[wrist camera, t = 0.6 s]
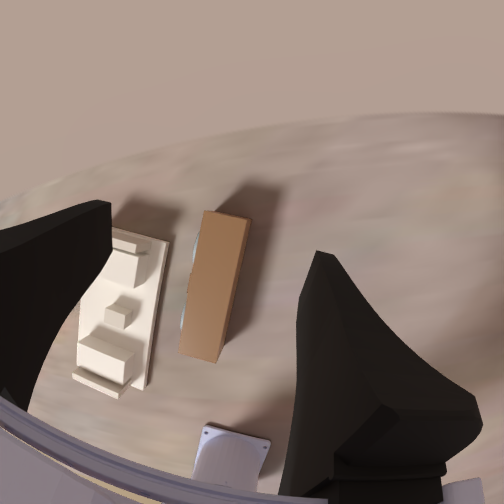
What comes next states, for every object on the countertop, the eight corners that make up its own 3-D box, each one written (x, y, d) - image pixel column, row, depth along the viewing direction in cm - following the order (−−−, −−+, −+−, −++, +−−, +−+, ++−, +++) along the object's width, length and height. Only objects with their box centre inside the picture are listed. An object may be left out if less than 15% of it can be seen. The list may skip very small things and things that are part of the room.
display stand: (146, 386, 33) (130, 405, 29) (82, 359, 34) (62, 374, 30) (169, 242, 31) (151, 246, 27) (95, 222, 32) (71, 223, 27)
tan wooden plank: (224, 345, 32) (215, 363, 28) (187, 335, 32) (174, 351, 28) (251, 219, 30) (246, 220, 26) (212, 210, 31) (200, 209, 26)
